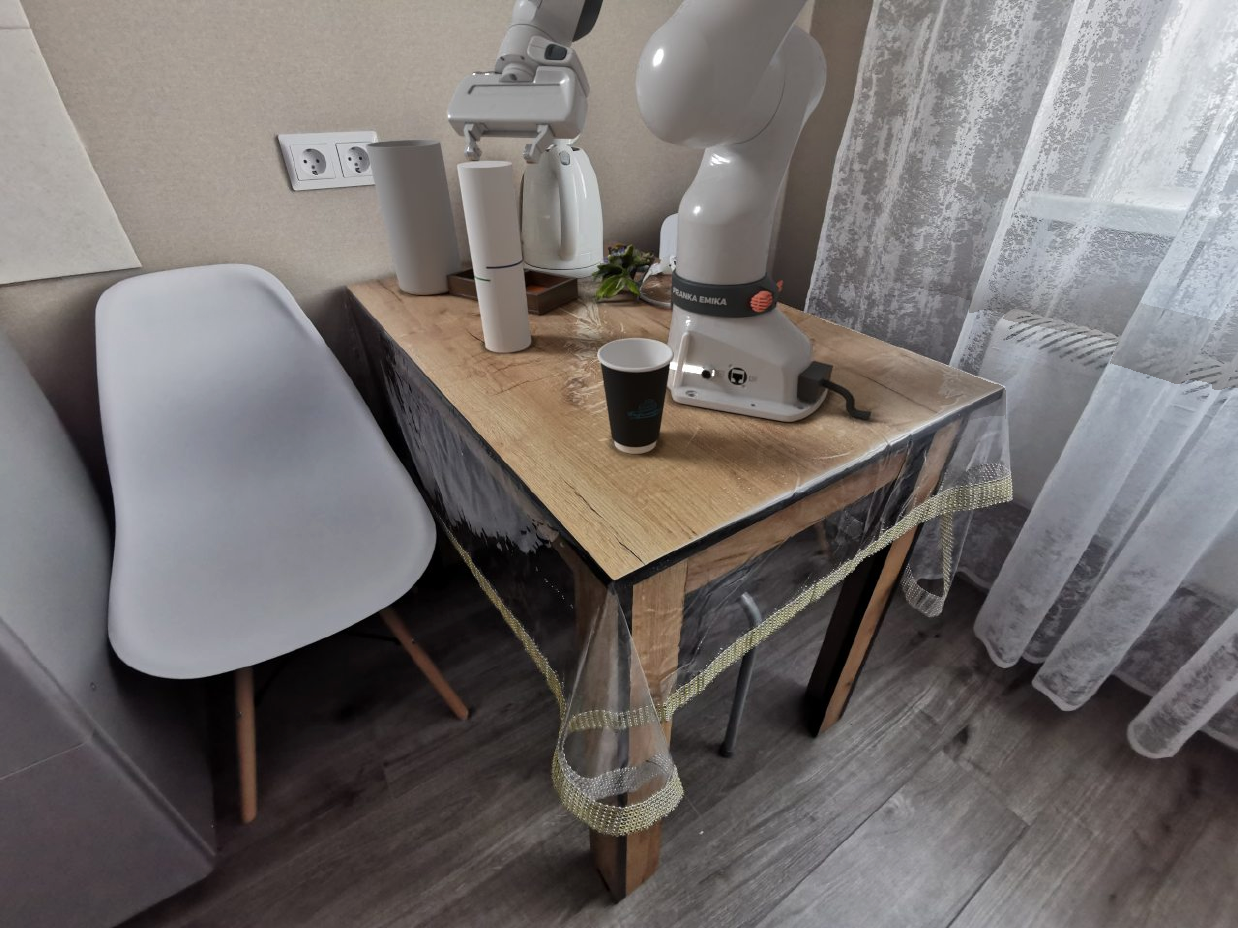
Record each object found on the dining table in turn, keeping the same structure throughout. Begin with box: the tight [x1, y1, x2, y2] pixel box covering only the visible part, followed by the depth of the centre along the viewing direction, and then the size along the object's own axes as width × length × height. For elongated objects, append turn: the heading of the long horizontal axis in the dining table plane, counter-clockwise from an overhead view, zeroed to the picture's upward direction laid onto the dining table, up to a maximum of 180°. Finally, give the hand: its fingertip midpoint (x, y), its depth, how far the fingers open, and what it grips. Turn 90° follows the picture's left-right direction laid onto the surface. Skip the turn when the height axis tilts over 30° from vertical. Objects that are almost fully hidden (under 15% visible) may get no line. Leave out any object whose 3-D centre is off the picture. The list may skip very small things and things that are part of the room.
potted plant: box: [591, 243, 656, 304], centre depth 103 cm, size 11×11×12 cm
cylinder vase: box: [365, 139, 463, 296], centre depth 105 cm, size 12×12×25 cm
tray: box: [446, 266, 579, 316], centre depth 106 cm, size 22×12×4 cm, turn 57°
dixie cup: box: [596, 337, 674, 455], centre depth 61 cm, size 8×8×11 cm
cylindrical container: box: [456, 160, 532, 354], centre depth 81 cm, size 7×7×25 cm
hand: (499, 159), depth 76 cm, fingers open, 8 cm apart
